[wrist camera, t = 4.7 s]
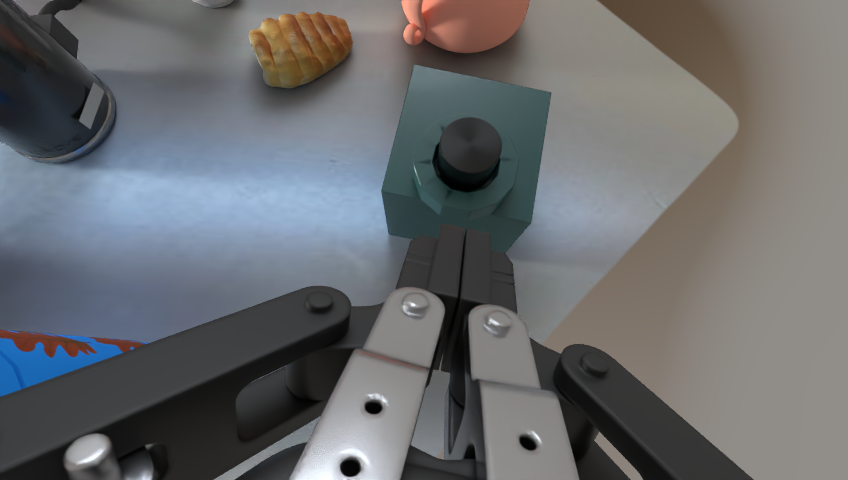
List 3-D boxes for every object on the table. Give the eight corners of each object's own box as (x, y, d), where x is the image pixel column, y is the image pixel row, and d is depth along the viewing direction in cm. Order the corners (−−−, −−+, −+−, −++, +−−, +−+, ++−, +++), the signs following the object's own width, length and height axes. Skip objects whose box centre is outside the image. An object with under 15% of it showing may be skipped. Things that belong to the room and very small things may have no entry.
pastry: (338, 14, 44) (331, -18, 41) (365, 66, 43) (360, 39, 39) (249, 46, 43) (234, 17, 39) (273, 101, 42) (260, 76, 38)
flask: (499, 267, 38) (538, 225, 26) (386, 243, 38) (375, 191, 27) (518, 155, 41) (560, 74, 29) (413, 134, 41) (414, 44, 30)
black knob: (488, 195, 27) (496, 178, 25) (432, 183, 27) (434, 165, 25) (498, 144, 28) (506, 123, 26) (443, 132, 28) (446, 110, 26)
